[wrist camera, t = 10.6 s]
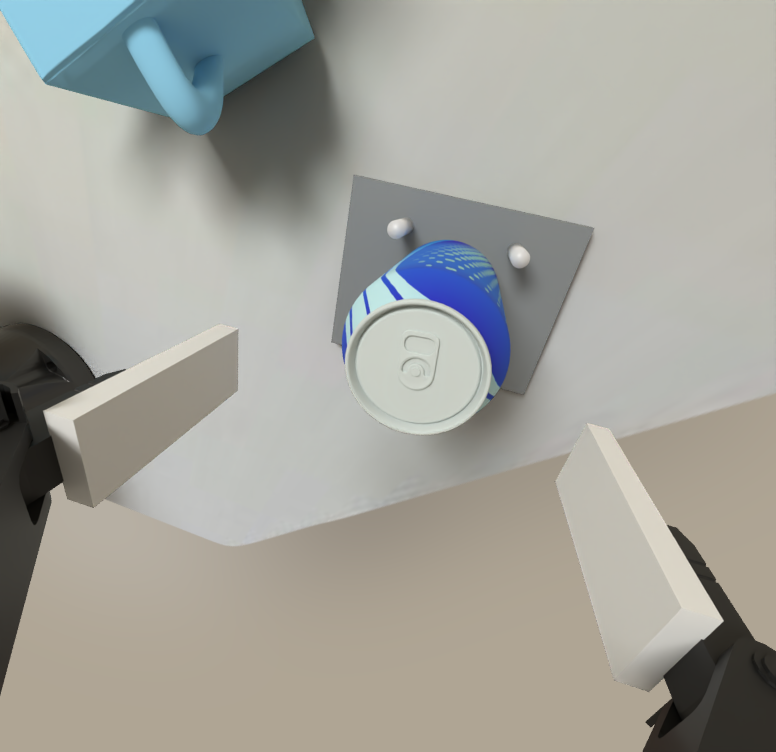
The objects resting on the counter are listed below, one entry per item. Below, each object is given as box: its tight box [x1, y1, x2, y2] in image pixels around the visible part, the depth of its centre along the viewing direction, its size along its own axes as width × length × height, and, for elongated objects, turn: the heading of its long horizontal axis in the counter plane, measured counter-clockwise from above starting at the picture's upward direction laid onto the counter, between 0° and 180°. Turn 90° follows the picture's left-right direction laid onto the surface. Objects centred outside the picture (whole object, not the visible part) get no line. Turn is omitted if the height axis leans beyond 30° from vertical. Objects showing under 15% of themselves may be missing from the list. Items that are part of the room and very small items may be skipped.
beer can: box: [342, 240, 511, 435], centre depth 24 cm, size 8×8×16 cm
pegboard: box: [331, 175, 594, 395], centre depth 29 cm, size 18×14×5 cm
